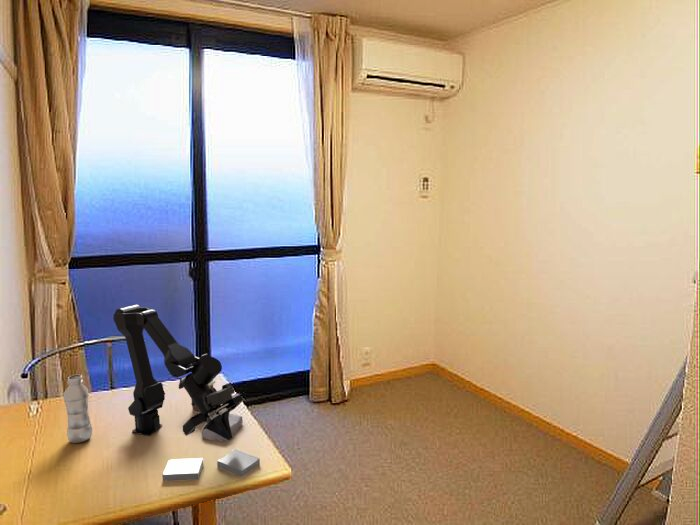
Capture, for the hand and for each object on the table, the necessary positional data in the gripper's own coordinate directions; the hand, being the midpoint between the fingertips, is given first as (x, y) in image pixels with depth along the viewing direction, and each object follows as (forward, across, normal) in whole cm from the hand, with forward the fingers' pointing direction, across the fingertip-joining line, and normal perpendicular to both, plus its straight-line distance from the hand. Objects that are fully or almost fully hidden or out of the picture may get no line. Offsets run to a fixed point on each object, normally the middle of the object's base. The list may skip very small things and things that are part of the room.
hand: (230, 439), depth 138 cm
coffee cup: (-17, +19, +27) cm, 37 cm away
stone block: (-5, +12, +16) cm, 21 cm away
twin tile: (0, -10, +11) cm, 15 cm away
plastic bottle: (-28, -14, +38) cm, 50 cm away
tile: (+3, 0, +6) cm, 7 cm away
